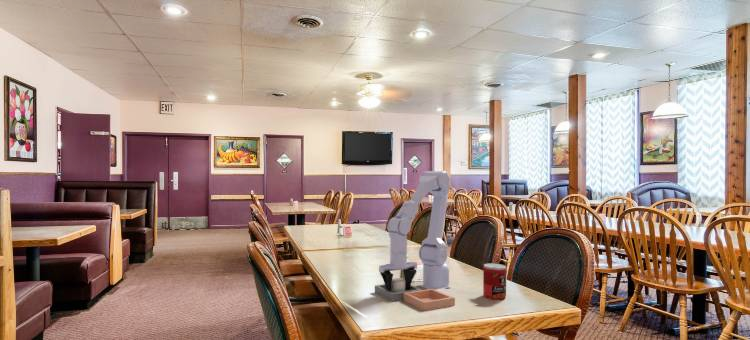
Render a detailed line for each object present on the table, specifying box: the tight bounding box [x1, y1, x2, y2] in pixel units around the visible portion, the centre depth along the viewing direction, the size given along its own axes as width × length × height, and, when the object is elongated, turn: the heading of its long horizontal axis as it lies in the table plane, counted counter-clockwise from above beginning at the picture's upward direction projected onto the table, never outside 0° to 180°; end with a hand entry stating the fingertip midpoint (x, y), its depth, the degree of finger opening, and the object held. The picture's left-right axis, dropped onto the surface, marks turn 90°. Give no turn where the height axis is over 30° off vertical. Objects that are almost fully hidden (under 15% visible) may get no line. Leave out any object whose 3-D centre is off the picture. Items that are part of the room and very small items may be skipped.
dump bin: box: [402, 288, 456, 312], centre depth 139 cm, size 12×12×3 cm
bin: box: [374, 283, 423, 303], centre depth 148 cm, size 12×12×3 cm
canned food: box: [482, 262, 507, 301], centre depth 149 cm, size 8×8×11 cm
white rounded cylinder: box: [391, 278, 405, 293], centre depth 148 cm, size 5×5×5 cm
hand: (398, 290), depth 148 cm, fingers open, 7 cm apart
